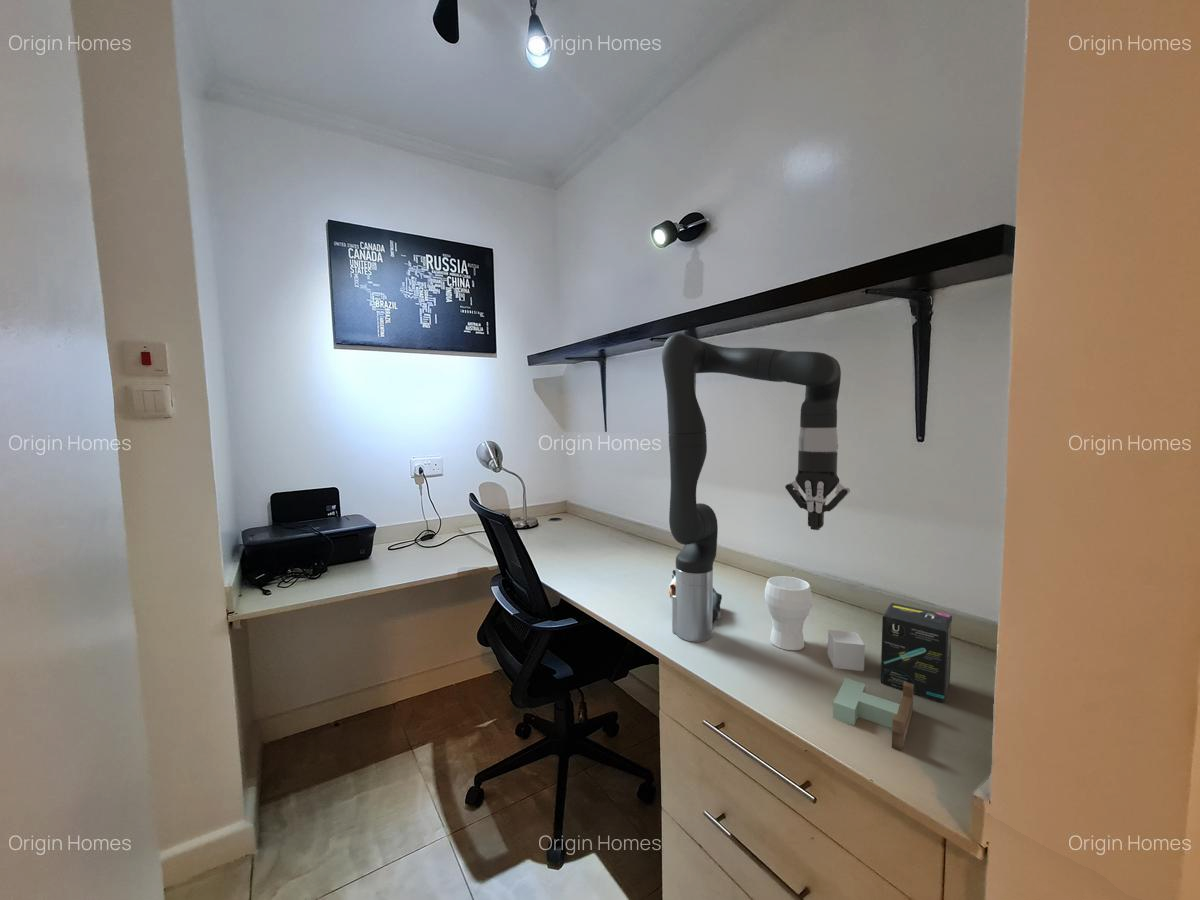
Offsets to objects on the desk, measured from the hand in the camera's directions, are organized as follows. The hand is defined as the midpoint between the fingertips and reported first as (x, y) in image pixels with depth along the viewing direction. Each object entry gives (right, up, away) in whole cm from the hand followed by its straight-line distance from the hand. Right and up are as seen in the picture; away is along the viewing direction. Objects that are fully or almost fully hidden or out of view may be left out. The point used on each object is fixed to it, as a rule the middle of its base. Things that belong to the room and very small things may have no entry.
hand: (815, 529), depth 99 cm
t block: (+3, -32, -14) cm, 35 cm away
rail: (+7, -32, -17) cm, 37 cm away
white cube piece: (+9, -31, +4) cm, 32 cm away
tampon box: (+19, -31, -4) cm, 37 cm away
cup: (-1, -30, +14) cm, 33 cm away
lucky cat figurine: (-20, -29, +30) cm, 46 cm away
